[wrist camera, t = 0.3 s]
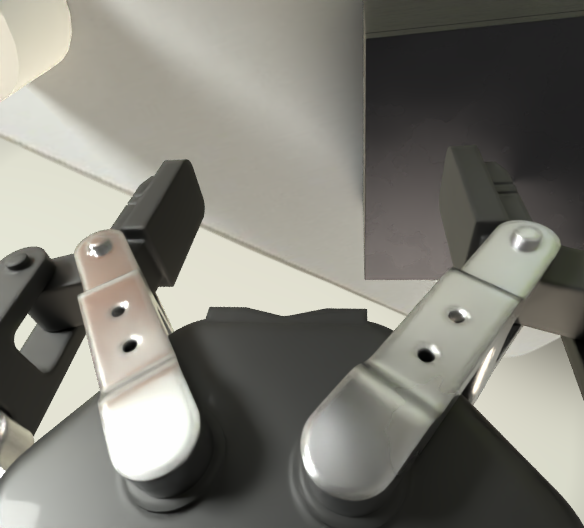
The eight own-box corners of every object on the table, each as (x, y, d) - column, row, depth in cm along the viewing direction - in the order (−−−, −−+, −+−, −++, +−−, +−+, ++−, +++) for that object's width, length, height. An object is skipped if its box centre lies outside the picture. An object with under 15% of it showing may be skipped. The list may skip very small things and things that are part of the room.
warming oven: (665, -44, 21) (792, -6, 15) (561, 200, 32) (609, 279, 26) (363, -7, 23) (365, 39, 17) (363, 206, 34) (364, 280, 28)
